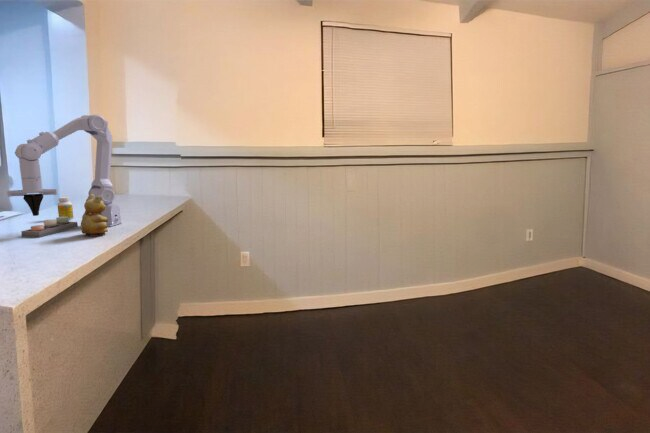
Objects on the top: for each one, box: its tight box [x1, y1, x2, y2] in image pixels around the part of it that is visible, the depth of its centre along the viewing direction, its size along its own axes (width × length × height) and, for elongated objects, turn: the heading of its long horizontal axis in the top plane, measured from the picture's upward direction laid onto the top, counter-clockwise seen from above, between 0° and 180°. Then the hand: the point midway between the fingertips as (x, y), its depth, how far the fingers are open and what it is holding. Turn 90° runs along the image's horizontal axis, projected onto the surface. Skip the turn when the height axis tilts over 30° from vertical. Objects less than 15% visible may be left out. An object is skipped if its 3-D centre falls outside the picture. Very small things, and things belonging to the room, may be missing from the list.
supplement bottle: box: [56, 196, 74, 221], centre depth 174 cm, size 5×5×10 cm
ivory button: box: [43, 218, 57, 227], centre depth 150 cm, size 4×4×2 cm
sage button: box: [55, 216, 70, 224], centre depth 156 cm, size 4×4×2 cm
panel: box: [20, 221, 79, 238], centre depth 151 cm, size 7×19×2 cm, turn 173°
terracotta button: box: [30, 224, 44, 231], centre depth 145 cm, size 4×4×2 cm
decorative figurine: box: [80, 194, 109, 237], centre depth 144 cm, size 10×8×15 cm
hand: (36, 215), depth 144 cm, fingers closed
